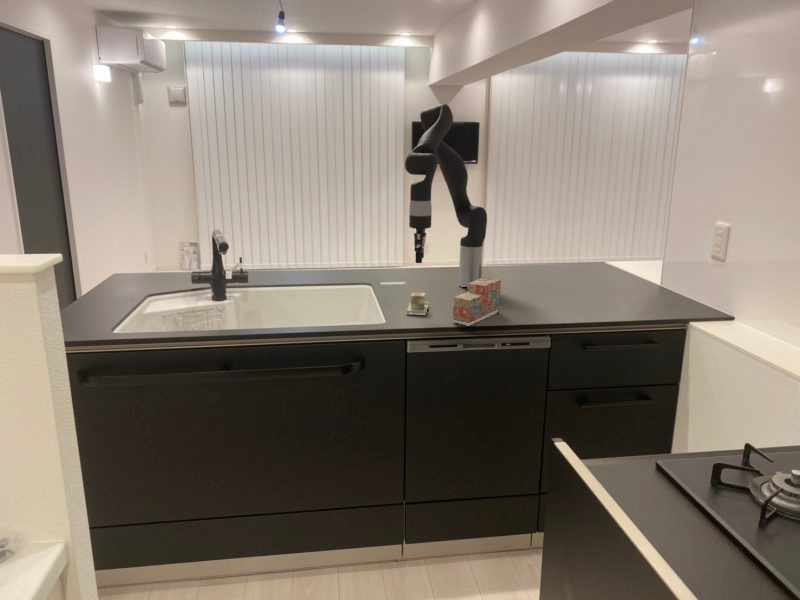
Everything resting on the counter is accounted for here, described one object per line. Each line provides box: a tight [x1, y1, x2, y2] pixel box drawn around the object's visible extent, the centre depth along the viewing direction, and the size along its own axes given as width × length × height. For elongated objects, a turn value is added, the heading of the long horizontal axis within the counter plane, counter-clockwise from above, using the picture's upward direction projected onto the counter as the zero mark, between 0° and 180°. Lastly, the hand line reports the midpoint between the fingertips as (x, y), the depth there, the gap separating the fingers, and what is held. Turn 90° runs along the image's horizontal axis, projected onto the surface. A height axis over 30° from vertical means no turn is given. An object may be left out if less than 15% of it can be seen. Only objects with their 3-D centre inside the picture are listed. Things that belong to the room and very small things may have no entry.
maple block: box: [410, 292, 426, 310], centre depth 209 cm, size 5×5×5 cm
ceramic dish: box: [406, 300, 430, 313], centre depth 210 cm, size 7×12×2 cm, turn 174°
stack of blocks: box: [452, 277, 502, 323], centre depth 201 cm, size 21×6×12 cm, turn 144°
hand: (419, 260), depth 205 cm, fingers open, 8 cm apart
